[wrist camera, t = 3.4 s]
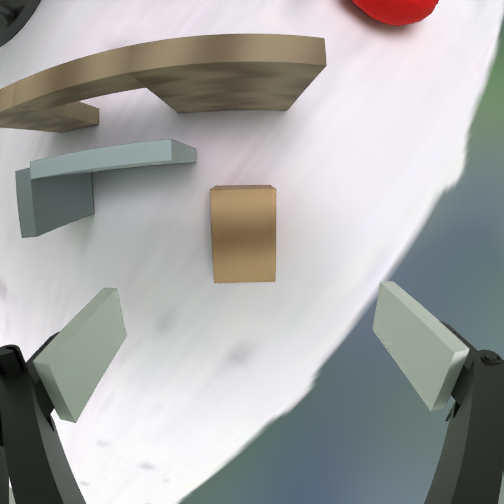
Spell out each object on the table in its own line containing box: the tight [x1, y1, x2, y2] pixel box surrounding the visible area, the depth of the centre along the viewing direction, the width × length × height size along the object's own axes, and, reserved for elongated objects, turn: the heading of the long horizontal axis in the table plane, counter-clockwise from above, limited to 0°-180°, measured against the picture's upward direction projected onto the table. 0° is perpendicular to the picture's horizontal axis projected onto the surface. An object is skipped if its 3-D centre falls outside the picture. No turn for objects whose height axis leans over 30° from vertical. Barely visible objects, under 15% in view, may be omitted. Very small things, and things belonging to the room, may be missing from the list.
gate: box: [15, 139, 196, 238], centre depth 26 cm, size 15×6×12 cm, turn 91°
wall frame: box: [0, 34, 326, 133], centre depth 22 cm, size 28×2×16 cm, turn 91°
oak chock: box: [210, 185, 276, 283], centre depth 31 cm, size 9×6×6 cm, turn 0°
